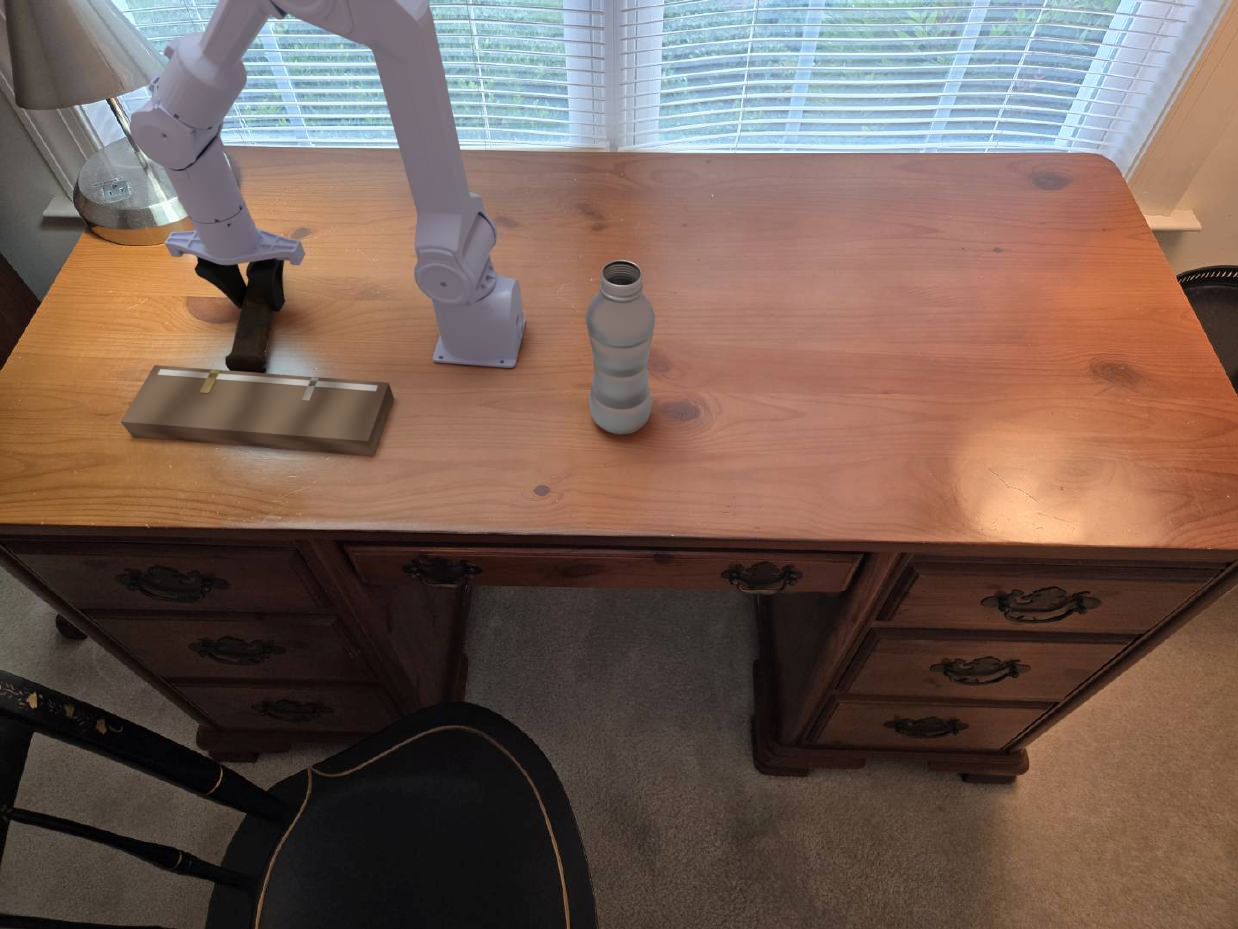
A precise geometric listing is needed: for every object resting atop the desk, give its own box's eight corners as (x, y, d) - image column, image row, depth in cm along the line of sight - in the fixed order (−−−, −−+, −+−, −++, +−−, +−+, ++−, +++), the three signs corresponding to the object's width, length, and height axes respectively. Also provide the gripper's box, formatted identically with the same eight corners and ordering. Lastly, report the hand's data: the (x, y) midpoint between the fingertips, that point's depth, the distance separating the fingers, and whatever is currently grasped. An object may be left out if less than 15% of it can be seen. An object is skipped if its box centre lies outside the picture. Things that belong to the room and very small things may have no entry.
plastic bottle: (631, 452, 83) (635, 308, 67) (577, 425, 85) (569, 279, 69) (662, 412, 86) (673, 266, 70) (609, 387, 88) (608, 239, 72)
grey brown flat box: (393, 397, 87) (388, 381, 85) (373, 455, 82) (367, 440, 80) (165, 380, 88) (154, 364, 86) (132, 436, 84) (119, 421, 81)
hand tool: (270, 380, 88) (254, 350, 85) (233, 381, 88) (216, 352, 84) (298, 268, 100) (285, 238, 96) (265, 270, 99) (252, 239, 96)
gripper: (296, 188, 85) (332, 286, 95) (165, 179, 85) (216, 278, 96) (273, 229, 80) (314, 327, 91) (135, 220, 81) (192, 318, 92)
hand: (262, 305), depth 93 cm, fingers closed on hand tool, 4 cm apart
